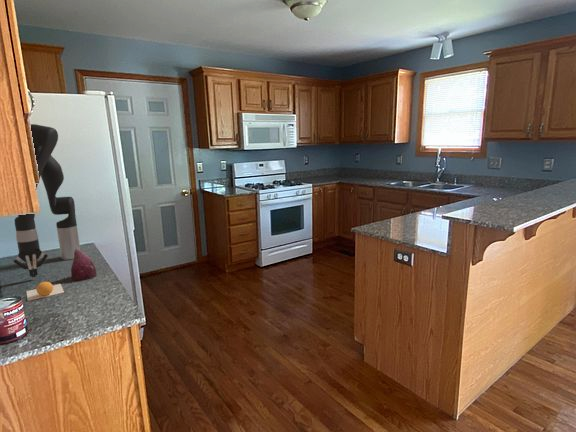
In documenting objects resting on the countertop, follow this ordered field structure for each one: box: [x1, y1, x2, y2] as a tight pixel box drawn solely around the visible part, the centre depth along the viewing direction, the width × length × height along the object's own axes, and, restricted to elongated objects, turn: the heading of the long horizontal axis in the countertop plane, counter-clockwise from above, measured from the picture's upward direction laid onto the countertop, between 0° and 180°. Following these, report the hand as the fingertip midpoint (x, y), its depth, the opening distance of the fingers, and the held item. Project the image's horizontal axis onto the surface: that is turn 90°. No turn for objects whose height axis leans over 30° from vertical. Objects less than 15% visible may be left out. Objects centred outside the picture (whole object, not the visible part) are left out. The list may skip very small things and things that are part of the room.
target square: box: [26, 283, 65, 302], centre depth 142 cm, size 12×12×1 cm
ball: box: [36, 281, 53, 296], centre depth 139 cm, size 6×6×6 cm
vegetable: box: [70, 248, 97, 282], centre depth 158 cm, size 10×10×15 cm
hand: (33, 276), depth 157 cm, fingers closed
